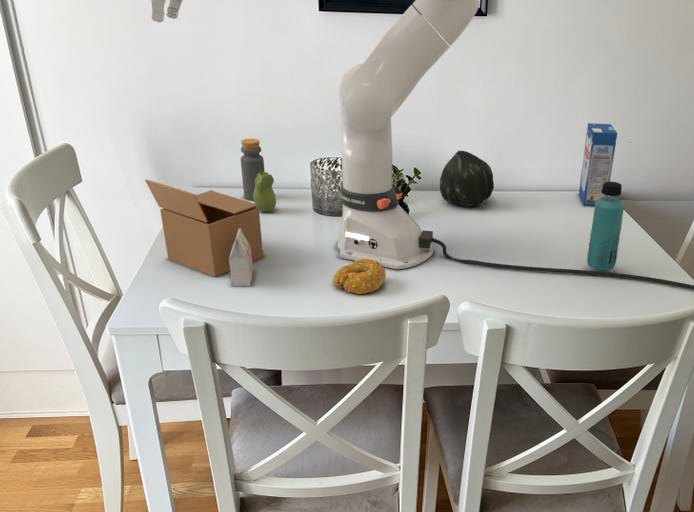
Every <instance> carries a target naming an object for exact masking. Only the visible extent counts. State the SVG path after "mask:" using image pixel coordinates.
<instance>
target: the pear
mask: <svg viewBox="0 0 694 512" xmlns="http://www.w3.org/2000/svg"><path fill="white" fill-rule="evenodd" d="M274 182H275V180H274V177H273V175H272V174H269V173H268V172H267V171H265V172H259V174H257V177H256V178H255V189H254V193H253V198H254V200H253V203H254V204H258V206H256V207H258V208H259V212H260V211H261V212H264V213H267V212H271V211H272V210H274V209H275V208H276V206H277V197H276V193H275V191H274V189H273V185H274Z"/></svg>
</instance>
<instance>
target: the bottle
mask: <svg viewBox="0 0 694 512" xmlns="http://www.w3.org/2000/svg"><path fill="white" fill-rule="evenodd" d="M260 143H261V141H260V139H258V138H243V139H241V140H240V144H241V147H240V152H241V153H242V154H243V155H242V156H241V157H240V168H241V177H242V189H243V196H244V199H246V200H247V201H254V198H253V193H254V189H255V178H256V177H257V174H259V172H266V171H265V162H264V156H262V155H261V154H260V153H261V152H262V147H261V146H260Z"/></svg>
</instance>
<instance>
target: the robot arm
mask: <svg viewBox="0 0 694 512" xmlns="http://www.w3.org/2000/svg"><path fill="white" fill-rule="evenodd" d="M166 1H167V0H151V9H152V12H151V20H152V21H154V22H156V23H163V22H164V20H165V15H166V17H168V18H169V19H172V20H176V19H178V17H179V13H180V8H181V6H182V3H183V0H169V3H168V6H167V7H166V13H165V4H166ZM479 6H480V0H414V1H413V3H412V4H410V6H409V7H408V8H407V9H406V10H405V11H404V12H403V14H402V15H401V16H400V17H399V18H398V19H397V20H396V21H395V23H394V24H393V25H392V26H391V27H390V28H389V29H388V30H387V32H386V33H384V35H383V37H382V38H381V40H380V41H379V42H378V43H377V45H376V46H375V47H374V48H373V50H372V52H370V54H369V55H368V57H367V58H366V59H365V60H364V61H363V63H359V64H355V65H353V66H350V68H348V69H347V70H346V72H345V73H344V74H343V76H342V77H341V80H340V83H339V112H340V114H339V115H340V143H341V145H340V146H341V147H340V148H341V177H342V179H341V180H342V184H341V186H340V203H341V204H342V217H341V225H340V233H339V237H338V241H337V249H338V250H339V258H341V259H345V260H349V261H353V262H355V261H356V260H361V259H371V260H374V261H377V262H379V263H380V264H381V265H383V267H384V268H389V269H393V270H403V269H409V268H411V267H412V268H413V267H415V266H417V265H420V264H422V263H423V262H425V261H427V260H428V259H430V258H431V257H432V255H433V253H434V251H433V250H434V249H433V247H432V244H433V243H434V244H436V245H439V247H441V249H442V255H443V256H444V257H445V258H446V259H448V260H450V261H454V262H457V263H461V264H465V265H477V266H482V267H488V268H496V269H497V268H499V269H508V270H509V269H510V270H519V271H529V272H546V273H556V274H557V273H559V274H574V275H575V274H576V275H587V276H600V277H601V276H602V277H612V278H620V279H621V278H622V279H630V280H637V281H638V280H639V281H645V282H650V283H651V282H652V283H657V284H662V285H668V286H674V287H679V288H685V289H690V290H694V284H689V283H684V282H680V281H675V280H674V281H673V280H669V279H664V278H657V277H651V276H643V275H638V274H628V273H620V272H610V271H601V270H587V269H573V268H555V267H542V266H541V267H540V266H527V265H516V264H515V265H514V264H505V263H494V262H486V261H482V260H475V259H461V258H460V259H459V258H456V257H455V258H454V257H452V256H451V255H450V254H448V252H447V246H446V244H445V243H444V242H443V241H441V240H439V239H436V238H434V231H433V230H424V229H423V230H422V228H421V226H420V225H419V224H418V223H417V222H416V221H415V220H414V219H413V217H411V216H410V215H409V214H408V213H407V211H406V210H404V209H403V207H402V206H400V204H399V203H400V202H399V200H400V199H402V198H403V196H402V195H403V192H400V193H397V192H396V189H395V186H394V185H393V136H392V117H393V116H394V115H395V113H397V111H398V110H399V109H400V108H401V106H402V105H403V104H404V103H405V101H406V100H407V99H408V97H409V96H410V95H411V93H412V92H413V90H414V89H415V88H416V87H417V86H418V84H419V82H420V81H421V80H422V78H423V77H424V76H425V75H426V74H427V72H429V70H430V69H431V68H432V67H433V66H434V65H435V64H436V63H437V62H438V60H440V59H441V58H442V56H444V54H445V53H446V52H447V51H448V50H449V49H450V47H451V46H453V44H455V42H456V41H457V40H458V39H459V37H460V36H461V35H462V34H463V33H464V31H465V30H466V29H467V27H468V26H469V24H470V23H471V21H472V20H473V18H474V17H475V15H476V14H477V12H478V10H479Z"/></svg>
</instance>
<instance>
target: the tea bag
mask: <svg viewBox="0 0 694 512" xmlns="http://www.w3.org/2000/svg"><path fill="white" fill-rule="evenodd" d="M229 264H230V271H229V272H230V273H229V274H230V280H231V287H248V286H249V287H250V286H251V285H252V281H253V275H254V268H253V261H252V256H251V246H250V245H249V243H248V241H247V240H246V238H245V237H244V235H243V233H242V231H241V228H240V229H238V233H237V237H236V239H235V241H234V244H233V246H232V249H231V253H230V257H229Z"/></svg>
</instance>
